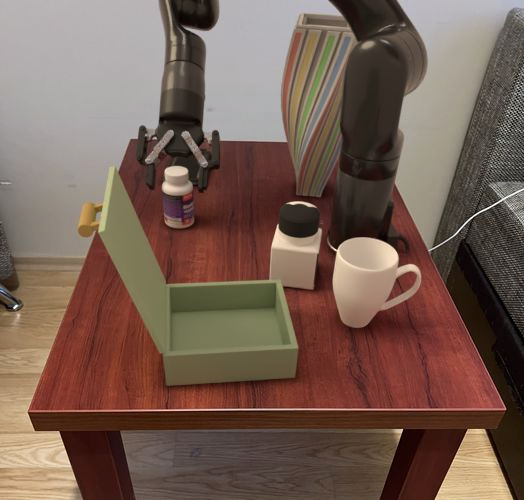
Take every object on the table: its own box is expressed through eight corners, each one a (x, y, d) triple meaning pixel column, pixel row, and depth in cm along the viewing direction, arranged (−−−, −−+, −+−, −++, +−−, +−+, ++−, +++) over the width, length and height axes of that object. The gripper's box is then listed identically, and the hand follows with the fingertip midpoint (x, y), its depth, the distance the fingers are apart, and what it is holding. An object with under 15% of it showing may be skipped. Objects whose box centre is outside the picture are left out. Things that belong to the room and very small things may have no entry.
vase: (342, 178, 114) (366, 14, 94) (342, 209, 104) (369, 33, 84) (278, 172, 115) (288, 8, 94) (272, 203, 105) (282, 27, 84)
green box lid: (115, 165, 63) (80, 175, 64) (104, 230, 53) (63, 241, 53) (165, 281, 75) (136, 288, 76) (165, 352, 65) (131, 361, 65)
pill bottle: (189, 231, 96) (186, 179, 90) (160, 227, 97) (155, 175, 90) (198, 216, 100) (196, 166, 93) (170, 212, 101) (166, 162, 94)
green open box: (278, 308, 81) (280, 279, 78) (295, 377, 71) (298, 348, 67) (166, 313, 79) (163, 284, 76) (166, 386, 69) (162, 355, 65)
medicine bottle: (313, 291, 85) (322, 222, 76) (268, 285, 85) (272, 217, 77) (317, 265, 90) (326, 199, 82) (275, 260, 90) (279, 193, 82)
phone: (211, 149, 119) (200, 180, 108) (211, 154, 120) (200, 185, 109) (176, 147, 119) (161, 177, 108) (176, 152, 120) (161, 182, 109)
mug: (326, 334, 77) (337, 267, 69) (327, 299, 83) (337, 234, 76) (410, 342, 77) (431, 276, 69) (405, 306, 83) (423, 241, 75)
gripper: (136, 83, 90) (129, 180, 89) (222, 88, 90) (215, 185, 89) (146, 105, 97) (139, 194, 97) (225, 110, 97) (219, 199, 97)
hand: (176, 190), depth 93 cm, fingers open, 8 cm apart
